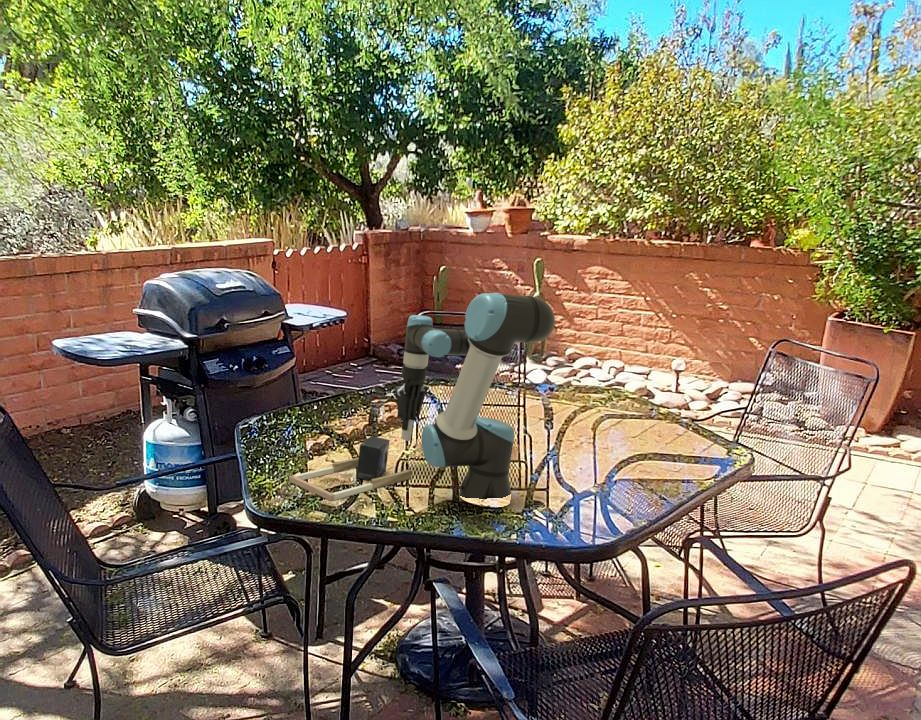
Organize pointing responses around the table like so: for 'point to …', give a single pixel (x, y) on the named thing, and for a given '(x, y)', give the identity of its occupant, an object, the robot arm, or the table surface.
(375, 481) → the wooden rail pair
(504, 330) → the robot arm
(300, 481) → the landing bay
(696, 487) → the table surface
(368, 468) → the small box
